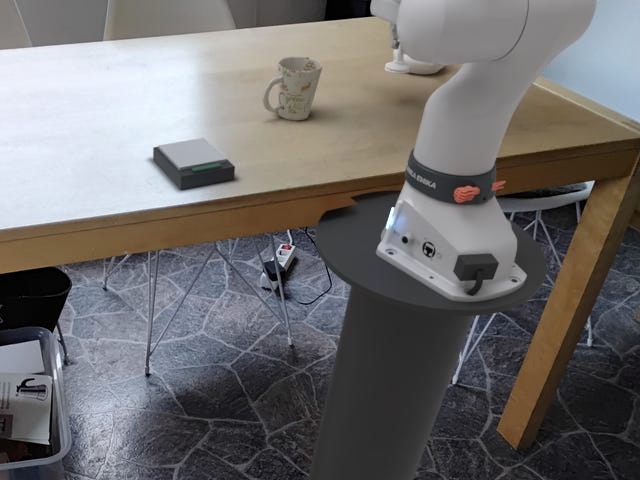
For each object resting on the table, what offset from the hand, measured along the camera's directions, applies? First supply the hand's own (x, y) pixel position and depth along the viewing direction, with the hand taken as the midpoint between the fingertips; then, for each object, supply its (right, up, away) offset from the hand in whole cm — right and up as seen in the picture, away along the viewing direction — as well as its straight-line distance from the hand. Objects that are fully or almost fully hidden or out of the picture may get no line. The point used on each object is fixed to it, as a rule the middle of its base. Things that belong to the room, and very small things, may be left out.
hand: (400, 51), depth 144 cm
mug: (-23, -13, +1) cm, 26 cm away
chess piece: (0, -3, +3) cm, 4 cm away
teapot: (+12, +5, +23) cm, 26 cm away
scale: (-42, -28, -17) cm, 54 cm away
